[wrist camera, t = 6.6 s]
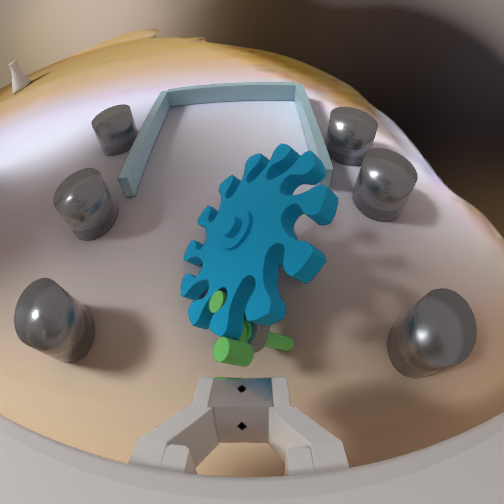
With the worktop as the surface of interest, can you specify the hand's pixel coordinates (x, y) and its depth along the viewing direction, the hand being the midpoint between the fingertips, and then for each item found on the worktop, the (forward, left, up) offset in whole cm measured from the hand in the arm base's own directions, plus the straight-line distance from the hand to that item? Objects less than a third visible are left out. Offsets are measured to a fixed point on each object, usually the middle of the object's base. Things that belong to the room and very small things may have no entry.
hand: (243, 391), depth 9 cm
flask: (-67, +68, -5) cm, 95 cm away
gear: (0, +7, -5) cm, 8 cm away
